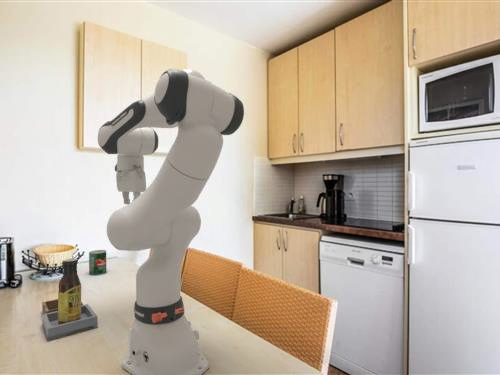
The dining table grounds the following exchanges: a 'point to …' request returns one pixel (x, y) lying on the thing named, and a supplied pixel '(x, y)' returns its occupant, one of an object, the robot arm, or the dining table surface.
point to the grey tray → (66, 329)
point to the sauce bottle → (69, 293)
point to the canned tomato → (97, 262)
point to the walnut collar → (50, 306)
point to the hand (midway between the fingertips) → (131, 204)
